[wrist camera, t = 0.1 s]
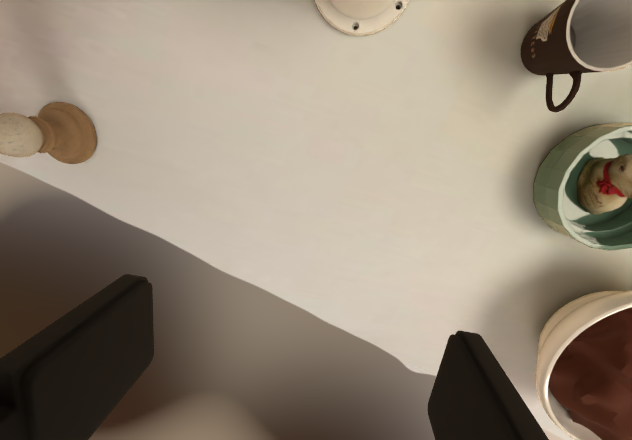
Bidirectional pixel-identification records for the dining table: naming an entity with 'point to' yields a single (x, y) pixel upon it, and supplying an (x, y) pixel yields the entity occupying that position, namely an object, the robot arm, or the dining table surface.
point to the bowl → (561, 183)
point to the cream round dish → (588, 367)
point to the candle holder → (49, 134)
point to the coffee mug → (579, 42)
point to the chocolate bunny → (605, 184)
